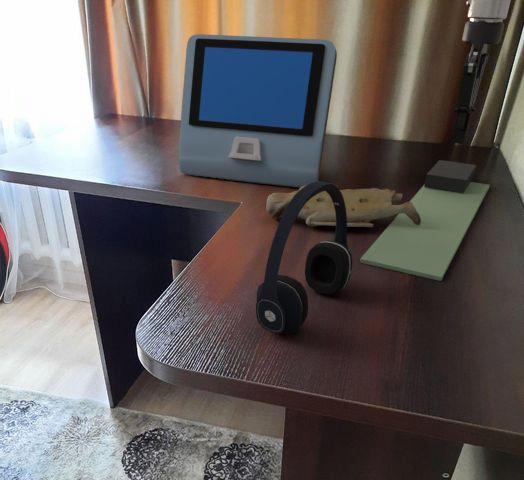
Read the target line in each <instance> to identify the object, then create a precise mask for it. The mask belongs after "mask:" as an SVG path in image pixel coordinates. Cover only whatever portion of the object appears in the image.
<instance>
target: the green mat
mask: <svg viewBox="0 0 524 480" xmlns="http://www.w3.org/2000/svg"><path fill="white" fill-rule="evenodd" d="M424 185H425V183H424V184H423V186H421V187H420V189H419V190H418V191H417V192H416V194H415V195H414V196H413V197H412V198H411V199H410V201H409V202H412V204H413V205H414V207H415V209H416V210H417V212H418V213H419V215H420V218H421V219H420V220H421V223H420V225H419V226H418V225H415V224H414V223H413V221H412V220H411V219H410V218H409V217H408V216H407V215H406V214H402V213H401V214H397V215H396V217H394V219H393V220H392V222H390V224H388V226H387V227H386V228H385V229H384V231H383V232H382V233H381V234H380V235H379V236H378V238H377V239H376V240H375V241H374V242H373V243H372V244H371V246H370V247H369V248H368V249H367V250H366V251H365V252H364V253H363V255H362V256H361V257H360V259H359V264H364V265H370V266H373V267H378V268H382V269H386V270H390V271H395V272H400V273H404V274H408V275H412V276H417V277H421V278H425V279H429V280H435V281H439V282H442V280H443V278H444V276H445V275H446V272H447V271H448V269H449V267H450V265H451V263H452V261H453V259H454V257H455V255H456V253H457V251H458V249H459V248H460V246H461V244H462V242H463V240H464V238H465V236H466V233H467V232H468V230H469V228H470V226H471V224H472V222H473V220H474V218H475V217H476V215H477V212H478V211H479V208H481V205H482V203H483V201H484V200H485V197H486V195H487V193H488V191H489V189H490V187H491V184H488V183H481V182H475V181H474V182H473V181H471V182H470V183H469V185H468V187H467V188H466V190H465V191H464V193H459V192H452V191H446V190H440V189H434V188H428V187H424Z"/></svg>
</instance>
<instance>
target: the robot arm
mask: <svg viewBox="0 0 524 480" xmlns="http://www.w3.org/2000/svg"><path fill="white" fill-rule="evenodd" d="M511 1H512V0H467V1H466V6H469V7H468V10H467V15H466V17H467V18H468V19H469V20H467V21H466V22H464V23H465V24H464V28H463V32H462V36H461V37H462V38H461V41H462V42H463V43H465V44H471V48H470V50H469V51H470V52H468V53H466V56H465V59H464V64H463V75H462V81H461V85H460V86H461V87H460V90H459V91H460V92H459V97H458V102H457V106H456V108H454V110H453V111H454V112H455V113H456V117H455V122H454V127H453V132H452V137H451V140H450V143H451V144H459V145H464V144H465V141H466V137H467V133H468V129H469V125H470V119H471V116H472V112H474V113H475V112H476V107H475V105H476V99H477V96H478V92H479V89H480V85H481V81H482V76H483V75H484V71H485V67H486V63H487V62H488V59H489V55H490V53H487V50H488V45H497V44H500V42H501V40H502V36H503V31H504V28H505V24H504V22H503V20H506V19H507V18H508V13H509V9H510V5H511Z"/></svg>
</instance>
